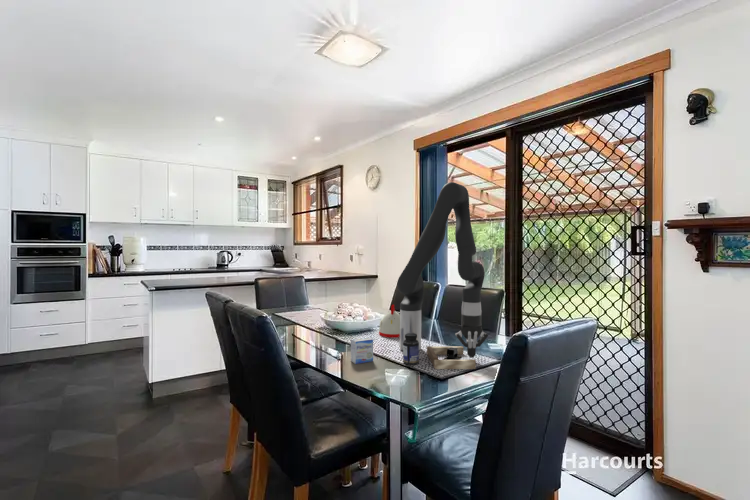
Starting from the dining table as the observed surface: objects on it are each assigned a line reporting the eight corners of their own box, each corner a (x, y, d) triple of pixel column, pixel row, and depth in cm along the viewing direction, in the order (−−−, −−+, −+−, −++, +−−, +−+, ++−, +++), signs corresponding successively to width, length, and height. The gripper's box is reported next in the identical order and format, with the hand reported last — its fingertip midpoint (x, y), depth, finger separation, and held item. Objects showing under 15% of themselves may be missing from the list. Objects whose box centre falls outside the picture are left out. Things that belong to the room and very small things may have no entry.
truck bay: (434, 369, 139) (435, 359, 139) (426, 353, 158) (426, 345, 158) (475, 368, 139) (475, 359, 139) (462, 353, 158) (462, 345, 158)
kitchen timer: (377, 337, 186) (377, 306, 185) (381, 330, 199) (381, 302, 199) (405, 338, 183) (405, 307, 183) (407, 331, 197) (407, 302, 197)
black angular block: (450, 354, 159) (450, 343, 159) (467, 358, 155) (467, 346, 155) (437, 362, 149) (437, 350, 148) (455, 365, 144) (455, 353, 144)
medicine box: (355, 364, 144) (355, 341, 144) (350, 361, 148) (350, 339, 148) (373, 361, 148) (373, 339, 148) (368, 358, 152) (368, 336, 152)
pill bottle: (420, 361, 148) (420, 333, 148) (417, 365, 143) (417, 336, 142) (405, 359, 150) (405, 331, 150) (401, 364, 145) (401, 335, 144)
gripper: (485, 311, 152) (485, 354, 152) (452, 311, 152) (452, 354, 152) (491, 314, 144) (491, 360, 144) (456, 315, 144) (456, 360, 144)
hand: (471, 357), depth 148 cm, fingers closed
